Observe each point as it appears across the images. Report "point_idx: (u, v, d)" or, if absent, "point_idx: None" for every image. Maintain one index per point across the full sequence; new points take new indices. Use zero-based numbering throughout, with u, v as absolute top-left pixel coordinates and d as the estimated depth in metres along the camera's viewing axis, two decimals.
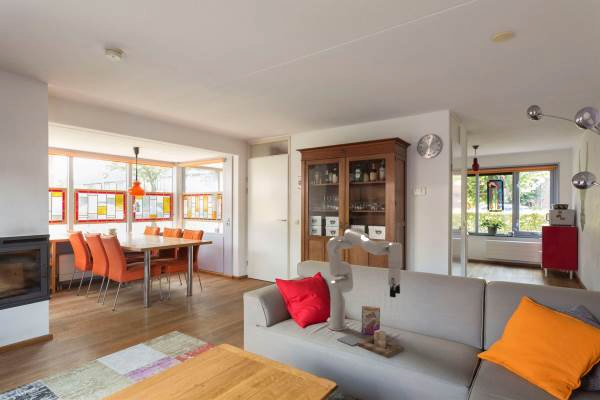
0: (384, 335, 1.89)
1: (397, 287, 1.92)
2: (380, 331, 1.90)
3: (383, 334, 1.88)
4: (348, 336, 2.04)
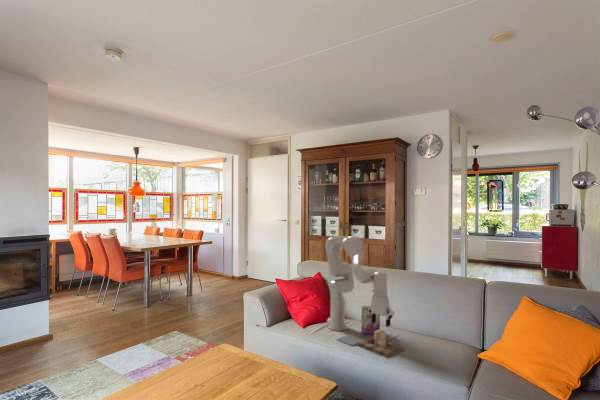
0: (384, 335, 1.89)
1: (374, 315, 1.93)
2: (380, 331, 1.90)
3: (383, 334, 1.88)
4: (348, 336, 2.04)
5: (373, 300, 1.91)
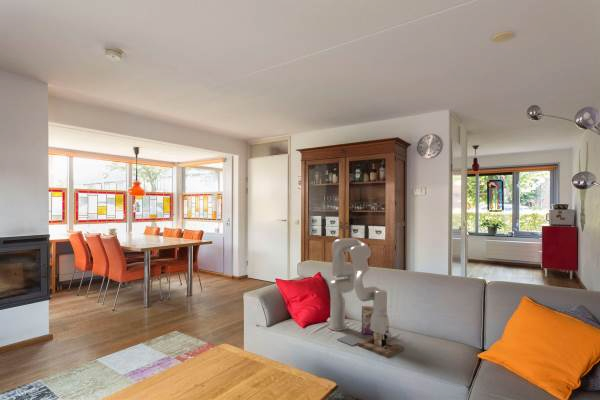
0: None
1: None
2: None
3: None
4: (348, 336, 2.04)
5: (372, 318, 1.91)
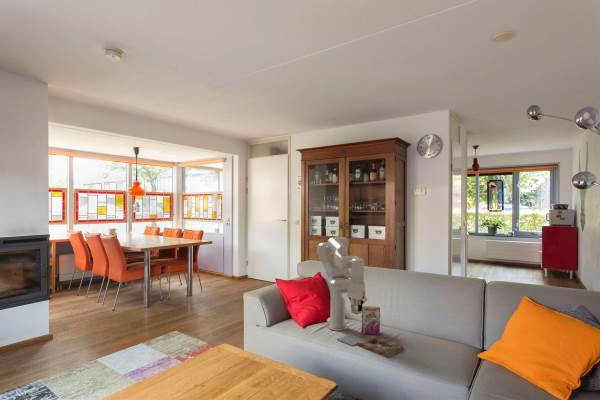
0: None
1: None
2: None
3: None
4: (348, 336, 2.04)
5: (349, 285, 1.99)
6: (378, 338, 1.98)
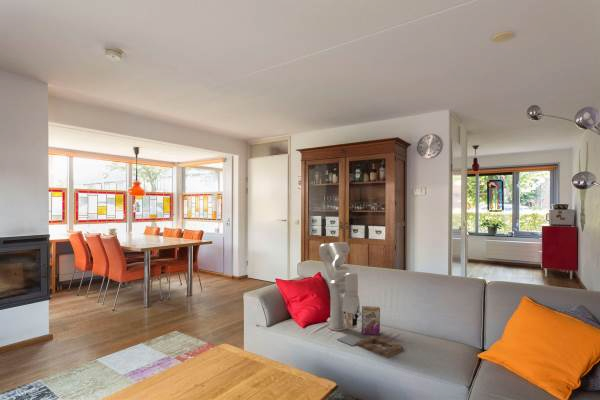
0: (355, 315, 1.98)
1: None
2: None
3: None
4: (348, 336, 2.04)
5: (344, 299, 2.01)
6: (378, 338, 1.98)
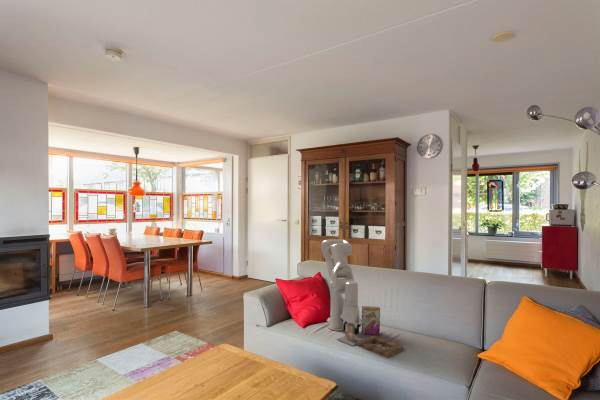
0: None
1: None
2: (351, 324, 1.99)
3: (354, 327, 1.98)
4: None
5: (344, 309, 2.00)
6: (378, 338, 1.98)
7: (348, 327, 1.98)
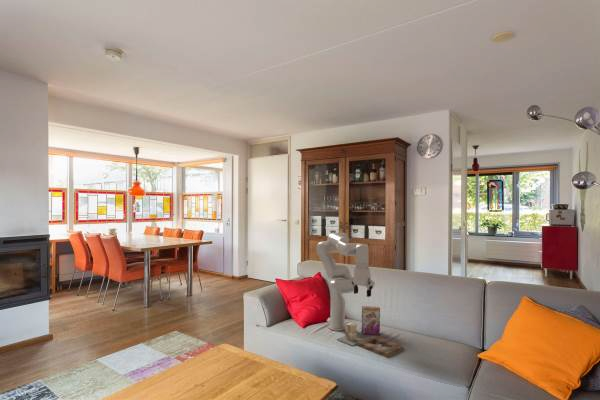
0: (355, 328, 1.99)
1: (356, 287, 2.00)
2: (351, 324, 1.99)
3: (354, 327, 1.98)
4: None
5: (355, 272, 1.98)
6: (378, 338, 1.98)
7: (348, 327, 1.98)
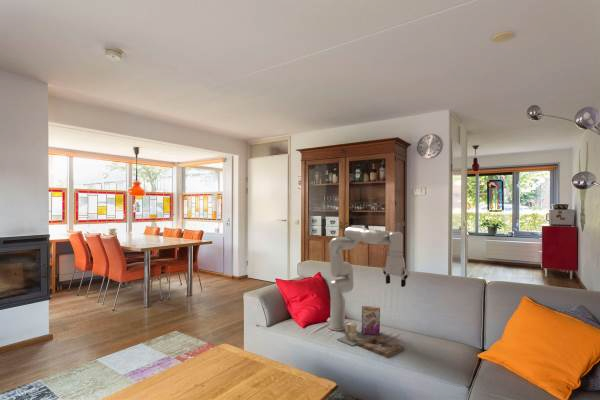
0: (355, 328, 1.99)
1: (388, 277, 1.90)
2: (351, 324, 1.99)
3: (354, 327, 1.98)
4: None
5: (387, 261, 1.88)
6: (378, 338, 1.98)
7: (348, 327, 1.98)
